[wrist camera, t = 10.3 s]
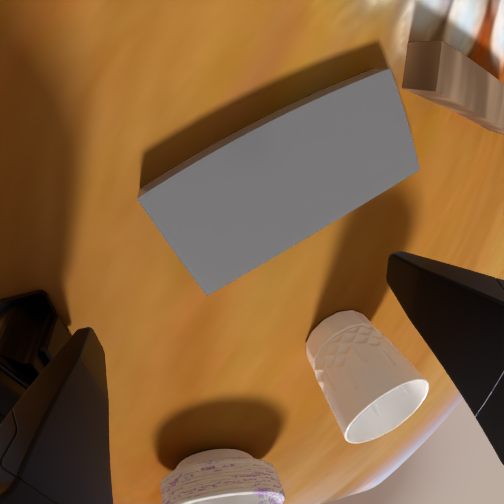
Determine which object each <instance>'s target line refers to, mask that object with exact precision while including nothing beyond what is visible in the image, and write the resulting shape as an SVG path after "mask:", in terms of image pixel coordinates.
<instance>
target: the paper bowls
mask: <svg viewBox="0 0 504 504" xmlns="http://www.w3.org/2000/svg"><path fill="white" fill-rule="evenodd" d="M161 495H162V503H163V504H282V503H283V502H284V500H285V493H284V491H283V488H282V485H281V483H280V479H279V477H278V475H277V472H276V469H275V467H274V466H273V465H272V464H270V463H269V462H266V461H263V460H260V459H254V458H253V457H252V456H251V455H250V454H248V453H246V452H243V451H240V450H235V449H213V450H207V451H203V452H199V453H196V454H193V455H191V456H189V457H187V458H185V459H184V460H182V461H181V462H180V463H179V464H178V465H177V467H176V469H175V470H173V471H171V472H170V473H169V474H168V475H167V476H165V477H164V478H163V480H162V482H161Z"/></svg>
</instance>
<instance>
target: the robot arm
mask: <svg viewBox="0 0 504 504" xmlns="http://www.w3.org/2000/svg"><path fill="white" fill-rule="evenodd" d="M386 279H387V282H388V285H389V286H390V288H391V290H392V291H393V293H394V294H395V296H396V298H397V299H398V301H399V303H400V304H401V306H402V308H403V309H404V311H405V313H406V315H407V316H408V318H409V319H410V321H411V322H412V324H413V325H414V326H415V328H416V329H417V331H418V332H419V333H420V335H421V336H422V337H423V339H424V340H425V342H426V343H427V345H428V346H429V347H430V349H431V350H432V352H433V353H434V355H435V356H436V357H437V359H438V360H439V362H440V363H441V365H442V366H443V368H444V369H445V371H446V372H447V374H448V375H449V377H450V378H451V380H452V381H453V383H454V384H455V386H456V387H457V389H458V390H459V392H460V393H461V395H462V397H463V398H464V400H465V401H466V403H467V404H468V406H469V408H470V409H471V411H472V412H473V414H474V416H476V419H477V421H478V422H479V424H480V426H481V427H482V429H483V431H484V432H485V434H486V436H487V438H488V439H489V441H490V443H491V445H492V446H493V448H494V450H495V452H496V453H497V455H498V457H499V459H500V461H501V462H502V464H503V465H504V280H501V279H498V278H496V279H495V278H494V277H491V276H488V275H485V274H481V273H478V272H474V271H471V270H467V269H464V268H461V267H457V266H454V265H450V264H446V263H443V262H439V261H436V260H432V259H429V258H425V257H421V256H418V255H414V254H410V253H407V252H403V251H399V252H396V253H392V254H391V255H390V256H389V258H388V266H387V274H386ZM39 296H41V297H43V299H42V298H40V297H39ZM0 504H113V496H112V485H111V471H110V452H109V400H108V389H107V378H106V365H105V354H104V350H103V347H102V346H101V344H100V342H99V340H98V338H97V336H96V334H95V332H94V330H93V329H92V328H90V327H87V328H82V329H78V330H77V331H76V332H75V333H74V334H73V335H72V337H70V335H69V333H68V331H67V330H66V328H65V326H64V324H63V322H62V320H61V318H60V316H59V315H58V314H57V313H56V311H55V309H54V307H53V305H52V303H51V301H50V299H49V297H48V295H47V294H46V292H44V291H42V290H39V291H34V292H30V293H26V294H22V295H18V296H14V297H10V298H6V299H2V300H0Z"/></svg>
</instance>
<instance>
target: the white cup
mask: <svg viewBox="0 0 504 504" xmlns="http://www.w3.org/2000/svg"><path fill="white" fill-rule="evenodd" d="M306 355H307V358H308V360H309V362H310V364H311V366H312V368H313V370H314V371H315V375H316V378H317V381H318V383H319V385H320V387H321V388H322V391H323V394H324V396H325V398H326V400H327V402H328V404H329V406H330V408H331V411H332V413H333V415H334V417H335V419H336V421H337V423H338V425H339V427H340V429H341V431H342V433H343V436H344V438H345V440H346V441H347V442H350V443H363V442H367V441H370V440H373V439H375V438H378V437H380V436H382V435H384V434H386V433H388V432H389V431H391V430H393V429H394V428H396V427H397V426H399V425H400V424H401V423H403V422H404V421H405V420H406V419H407V418H409V417H410V416H411V415H412V414H413V413H414V412H415V411H416V410H417V408H418V407H419V406H420V405H421V403H422V402H423V401H424V399H425V397H426V395H427V393H428V390H429V383H428V381H427V380H426V379H425V378H424V377H423V375H422V374H421V373H420V372H419V371H418V370H417V369H416V368H415V367H414V366H413V365H412V363H411V362H410V361H409V360H408V359H407V358H406V357H405V356H404V355H403V354H402V353H401V351H400V350H399V349H398V348H397V347H396V346H395V345H394V344H393V343H392V342H390V341H389V340H388V338H387V337H386V336H385V335H384V334H383V333H382V332H380V331H379V330H378V329H377V328H375V326H374V325H373V324H372V323H371V322H370V321H369V320H368V319H367V318H366V317H365V316H364V315H363V314H362V313H359V312H356V311H354V310H349V311H342V312H337V313H335V314H334V315H332V316H330V317H328V318H326V319H324V320H323V321H322V322H321V323H320V324H319V325H318V326H317V327H316V328H315V329H314V330H313V331H312V332H311V334H310V336H309V338H308V340H307V342H306Z"/></svg>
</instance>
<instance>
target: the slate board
mask: <svg viewBox="0 0 504 504" xmlns="http://www.w3.org/2000/svg"><path fill="white" fill-rule="evenodd" d="M419 170H420V168H419V164H418V160H417V155H416V151H415V147H414V143H413V139H412V136H411V132H410V128H409V125H408V121H407V118H406V114H405V111H404V108H403V104H402V101H401V98H400V95H399V92H398V89H397V86H396V83H395V80H394V77H393V74H392V71H391V69H390V68H375V69H371V70H368V71H366V72H363V73H361V74H358V75H356V76H353V77H351V78H348V79H346V80H344V81H341V82H339V83H336V84H334V85H332V86H329V87H327V88H325V89H323V90H320V91H318V92H316V93H314V94H311V95H309V96H307V97H305V98H303V99H300V100H298V101H296V102H294V103H292V104H290V105H288V106H286V107H284V108H282V109H280V110H277V111H275V112H273V113H271V114H269V115H267V116H265V117H263V118H261V119H260V120H258V121H256V122H254V123H252V124H250V125H248V126H246V127H244V128H242V129H240V130H238V131H237V132H235V133H233V134H231V135H229V136H227V137H226V138H224V139H222V140H220V141H218V142H217V143H215V144H213V145H211V146H209V147H208V148H206V149H204V150H202V151H201V152H199V153H197V154H196V155H194V156H192V157H190V158H189V159H187V160H185V161H184V162H182V163H180V164H179V165H177V166H175V167H174V168H172V169H170V170H169V171H167V172H166V173H164V174H162V175H161V176H159V177H158V178H156V179H154V180H153V181H151V182H150V183H148V184H147V185H145V186H144V187H142V188H141V189H139V193H138V197H137V199H138V201H139V202H140V204H141V205H142V207H143V208H144V209H145V211H146V212H147V214H148V215H149V217H150V218H151V220H152V221H153V222H154V224H155V225H156V227H157V228H158V230H159V231H160V232H161V234H162V235H163V237H164V238H165V240H166V241H167V242H168V244H169V245H170V247H171V248H172V249H173V251H174V252H175V253H176V255H177V256H178V258H179V259H180V260H181V262H182V263H183V264H184V266H185V267H186V269H187V270H188V271H189V273H190V274H191V275H192V277H193V278H194V279H195V281H196V282H197V283H198V285H199V286H200V287H201V289H202V290H203V291H204V293H205V294H206V295H207V296H208V295H210V294H211V293H213V292H215V291H217V290H218V289H220V288H222V287H223V286H225V285H227V284H229V283H230V282H232V281H234V280H236V279H237V278H239V277H241V276H242V275H244V274H246V273H248V272H249V271H251V270H253V269H255V268H256V267H258V266H260V265H261V264H263V263H265V262H267V261H268V260H270V259H272V258H273V257H275V256H277V255H279V254H280V253H282V252H284V251H285V250H287V249H289V248H290V247H292V246H294V245H296V244H297V243H299V242H301V241H302V240H304V239H306V238H307V237H309V236H311V235H312V234H314V233H316V232H318V231H319V230H321V229H323V228H324V227H326V226H328V225H329V224H331V223H333V222H334V221H336V220H338V219H339V218H341V217H343V216H344V215H346V214H348V213H349V212H351V211H353V210H354V209H356V208H358V207H359V206H361V205H363V204H364V203H366V202H368V201H369V200H371V199H373V198H374V197H376V196H378V195H379V194H381V193H383V192H384V191H386V190H388V189H389V188H391V187H393V186H394V185H396V184H398V183H399V182H401V181H403V180H404V179H406V178H407V177H409V176H411V175H412V174H414V173H416V172H417V171H419Z"/></svg>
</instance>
